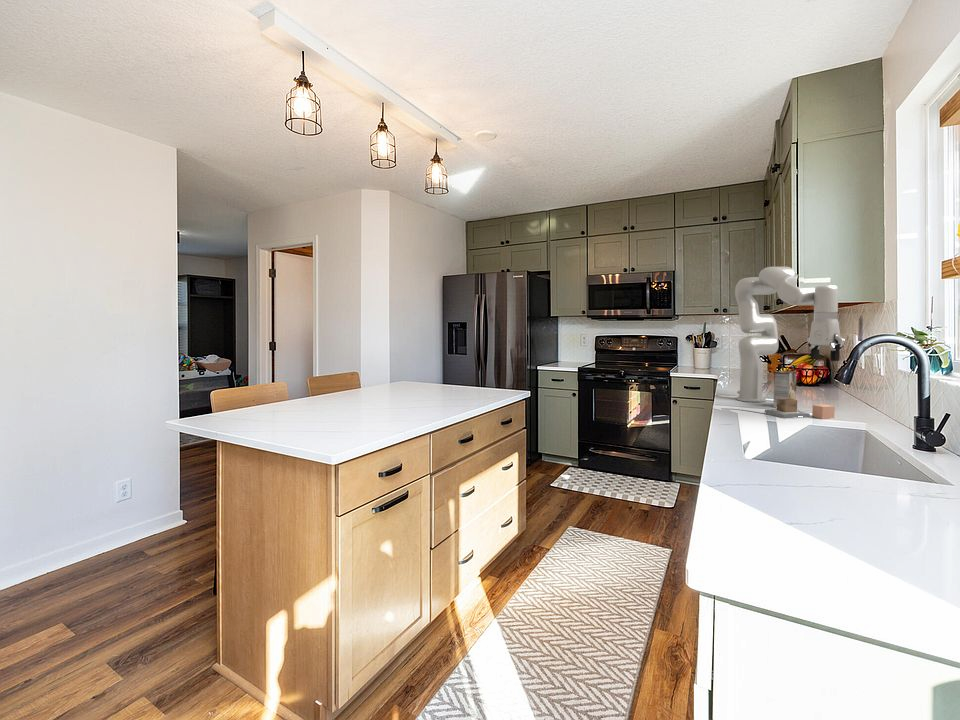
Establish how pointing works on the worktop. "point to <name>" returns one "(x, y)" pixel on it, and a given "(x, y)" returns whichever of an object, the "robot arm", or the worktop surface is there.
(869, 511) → the worktop surface
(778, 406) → the walnut block
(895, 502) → the worktop surface
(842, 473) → the worktop surface
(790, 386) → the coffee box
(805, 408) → the worktop surface
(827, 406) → the terracotta block
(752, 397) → the robot arm
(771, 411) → the slate blueprint mat
